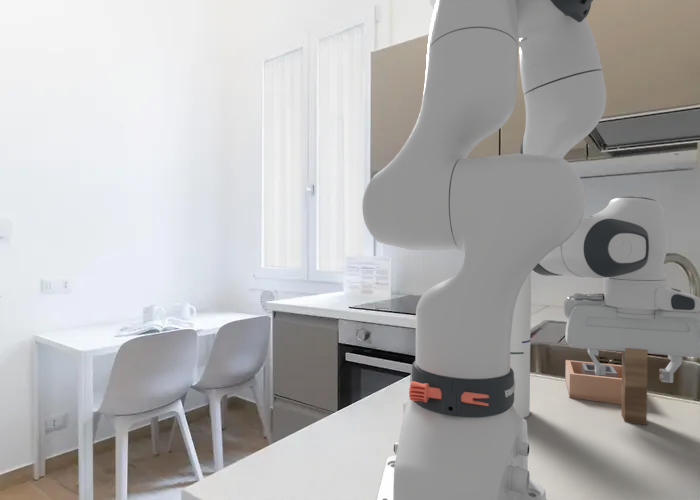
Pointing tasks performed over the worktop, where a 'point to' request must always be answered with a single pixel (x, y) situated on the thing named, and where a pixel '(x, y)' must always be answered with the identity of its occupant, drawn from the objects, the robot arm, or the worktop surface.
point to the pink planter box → (594, 382)
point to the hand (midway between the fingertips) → (632, 378)
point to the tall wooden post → (634, 386)
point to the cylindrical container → (521, 349)
